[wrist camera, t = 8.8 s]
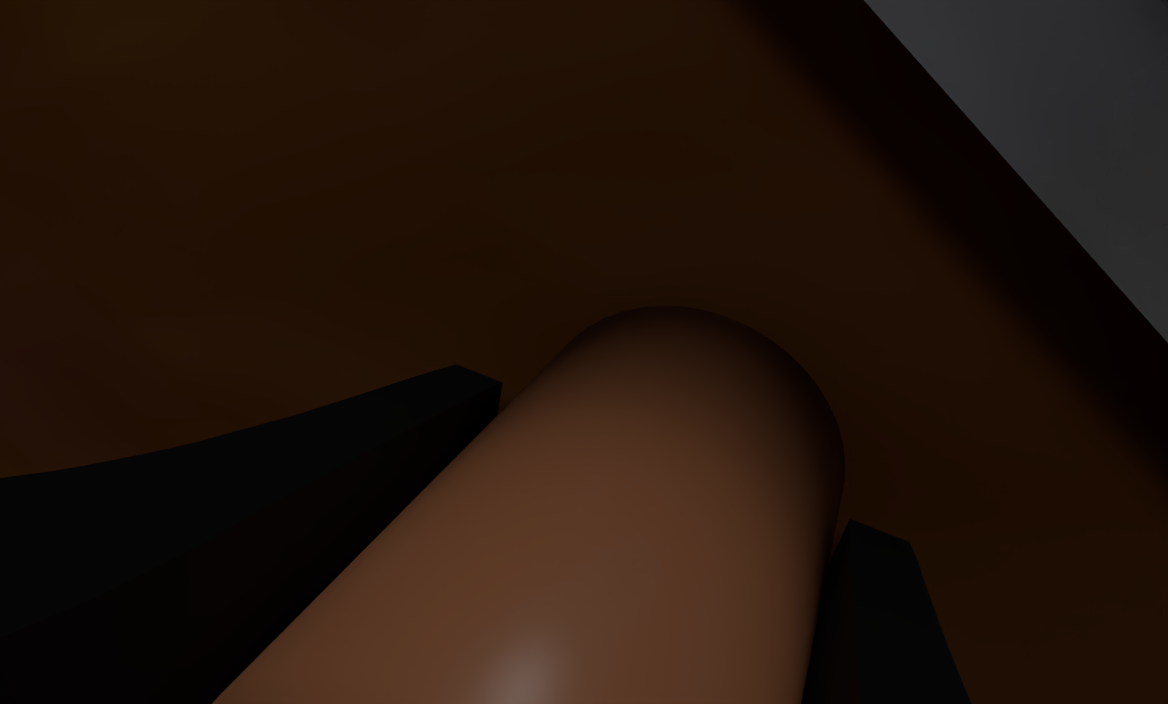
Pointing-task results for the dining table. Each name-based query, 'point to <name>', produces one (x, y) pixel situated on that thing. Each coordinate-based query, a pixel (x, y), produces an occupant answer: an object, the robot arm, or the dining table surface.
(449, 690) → the brown egg
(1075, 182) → the breaker panel
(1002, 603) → the dining table surface
